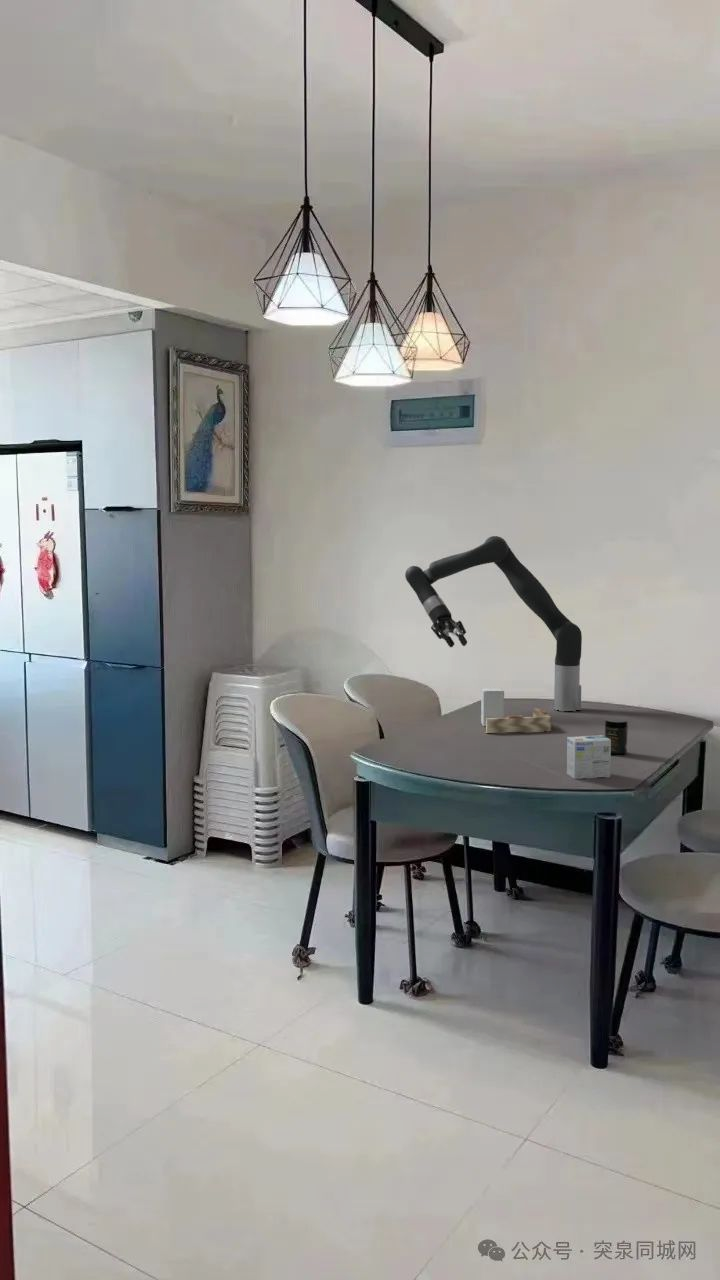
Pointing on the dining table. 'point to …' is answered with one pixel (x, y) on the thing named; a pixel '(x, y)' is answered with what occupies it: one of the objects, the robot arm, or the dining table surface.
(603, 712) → the dining table surface
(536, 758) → the dining table surface
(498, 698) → the supplement box
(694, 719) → the dining table surface
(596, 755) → the light bulb box
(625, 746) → the supplement container
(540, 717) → the wooden corner bracket
